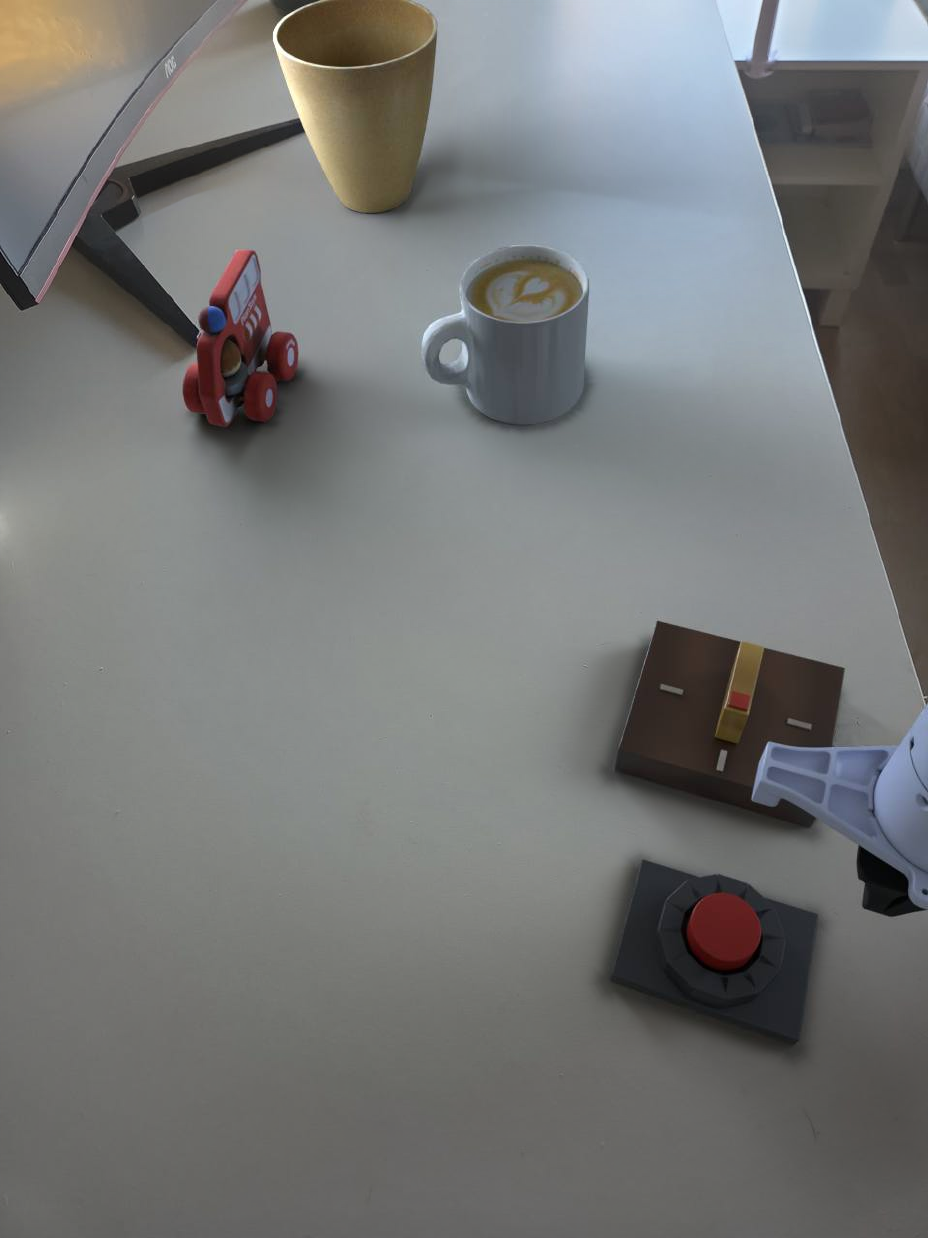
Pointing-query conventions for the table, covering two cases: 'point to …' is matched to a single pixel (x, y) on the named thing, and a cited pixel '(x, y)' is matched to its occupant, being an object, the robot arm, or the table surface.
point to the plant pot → (362, 92)
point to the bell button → (723, 931)
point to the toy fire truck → (238, 349)
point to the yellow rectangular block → (739, 692)
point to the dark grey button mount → (671, 972)
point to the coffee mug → (517, 334)
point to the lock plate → (690, 709)
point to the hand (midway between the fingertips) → (879, 893)
